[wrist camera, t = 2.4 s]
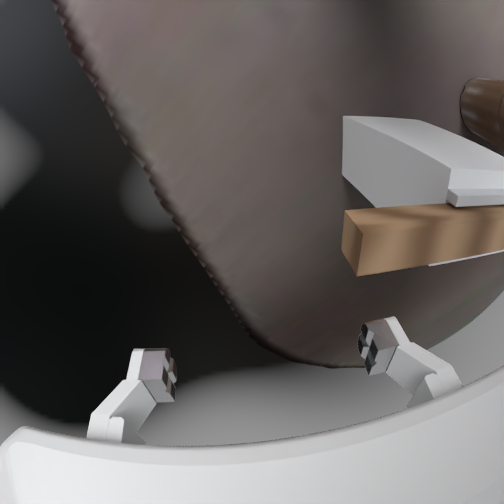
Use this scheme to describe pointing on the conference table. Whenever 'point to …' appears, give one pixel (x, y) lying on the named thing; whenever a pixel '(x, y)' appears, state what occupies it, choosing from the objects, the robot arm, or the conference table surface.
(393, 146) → the switch console stand
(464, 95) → the plant pot
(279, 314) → the conference table surface
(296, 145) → the conference table surface
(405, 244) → the lever bar
